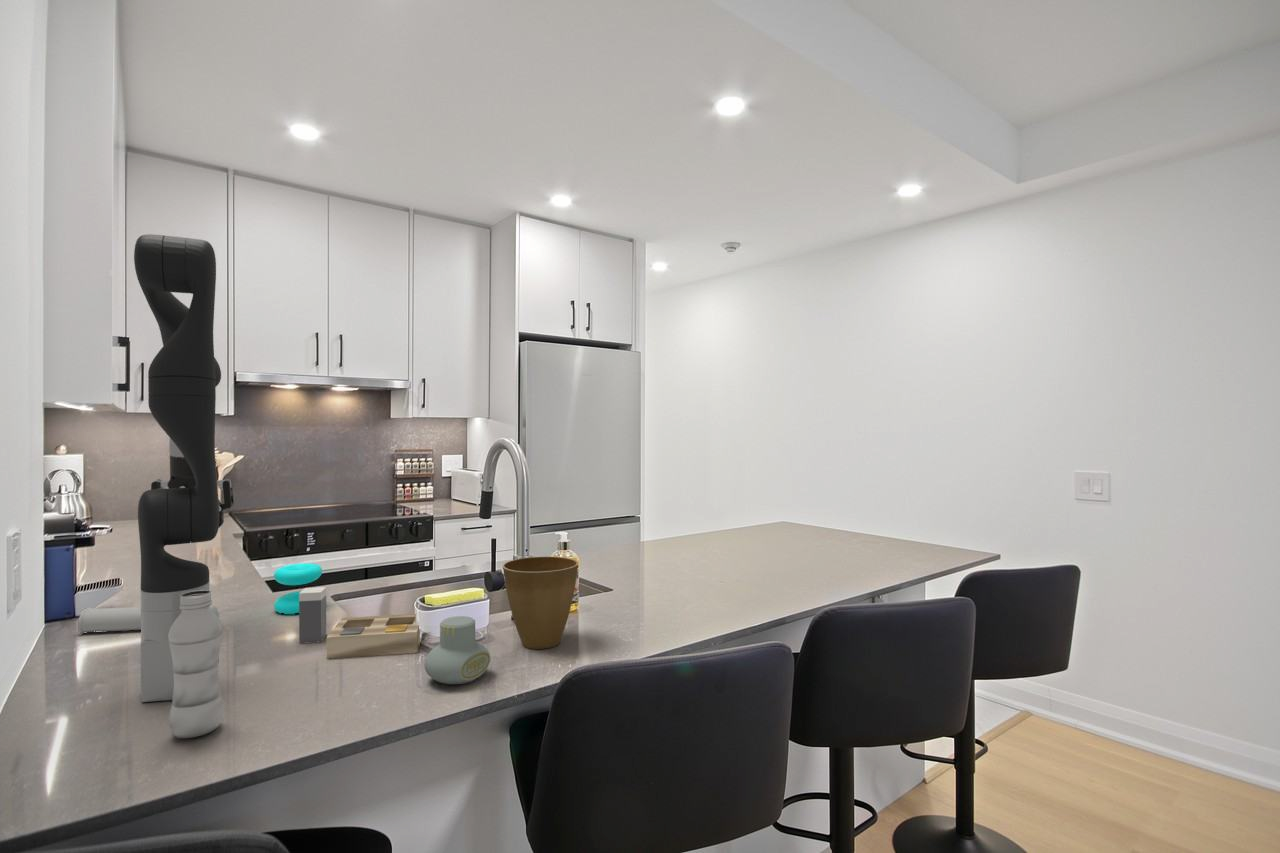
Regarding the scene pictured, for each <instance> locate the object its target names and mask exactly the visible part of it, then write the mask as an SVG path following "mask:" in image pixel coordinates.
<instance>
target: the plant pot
mask: <svg viewBox="0 0 1280 853" xmlns="http://www.w3.org/2000/svg"><path fill="white" fill-rule="evenodd" d="M578 568H579V561H577V560H575V559H573V558H569V557H562V556H546V555H545V556H531V557H530V556H528V557H521V558H515V559H512V560H509V561H506V562H504V563H503V564H502V572H503V577H504V584H505V589H506V595H507V600H508V605H509V608H510V612H511V615H512V619H513V622H514V624H515V628H516V631H517V633H518V636H519V638H520V642H521V644H522V646H523V647H525V648H528V649H531V650H532V649H533V650H543V649H550V648H553V647H557V645H559V644H560V643H561V639H562V637H563V634H564V631H565V628H566V624H567V622H568V618H569V615H570V611H571V607H572V603H573V599H574V595H575V588H576V584H577V577H578V576H577V575H578Z"/></svg>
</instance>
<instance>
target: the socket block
mask: <svg viewBox="0 0 1280 853" xmlns="http://www.w3.org/2000/svg"><path fill="white" fill-rule="evenodd" d="M416 614H417V613H407V614H404V613H403V614H391V615H385V614H384V615H374V616H373V615H372V616H371V615H370V616H369V615H368V616H351V617H342V618H341V619H340V620H339V622H337V624H336V625H335V626H334V628H333V629H332V630H331V631H330V633H329V634H328V635H326V660H330V659H329V658H331V659H342V658H357V657H372V656H374V657H375V656H386V655H387V656H388V655H402V654H403V655H404V654H416V653H418V650H419V648H420V645H421V643H420V630H419V625H417V622H416Z"/></svg>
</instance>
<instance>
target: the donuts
mask: <svg viewBox="0 0 1280 853" xmlns="http://www.w3.org/2000/svg"><path fill="white" fill-rule="evenodd" d="M322 574H323V568H322V567H321V566H320V565H319V564H317V563H311V562H310V563H308V562H307V563H306V562H303V563H292V564H287V565H284V566H281V567H278V568H277V569H276V570H275V571H274V573H273V578H274V580H275V581H276V582H277V583H278V584H281V585H285V586H299V585H305V584H309V583H312V582H315V581H316V580H318V579H319V578H320V577H321V576H322ZM301 591H302V590H301ZM301 591H294V592H290V593H285V594H283V595H282V596H279V598H277V599H276V601H274V604H273V608H274V610H275V612H277V613H278V612H279V613H278V614H281V613H284V614H283V615H296V614H295V613H299V593H300V592H301Z"/></svg>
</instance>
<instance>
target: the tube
mask: <svg viewBox="0 0 1280 853" xmlns="http://www.w3.org/2000/svg"><path fill="white" fill-rule="evenodd" d="M210 609H211V610H212V611H213V612H214V613H215V614H216V615H217V617H218V618H219V619H220V614H219V611H218V607H217V606H214V605H213V604H211V605H210ZM128 630H141V606H136V607H134V606H133V607H112V608H111V607H109V608H92V607H87V608H85V609H83V610H82V611H80V615H79V617H78V619H77V631H78V632H79V633H80V634H82V633H84V632H94V631H95V632H96V631H122V632H129V631H128Z"/></svg>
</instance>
